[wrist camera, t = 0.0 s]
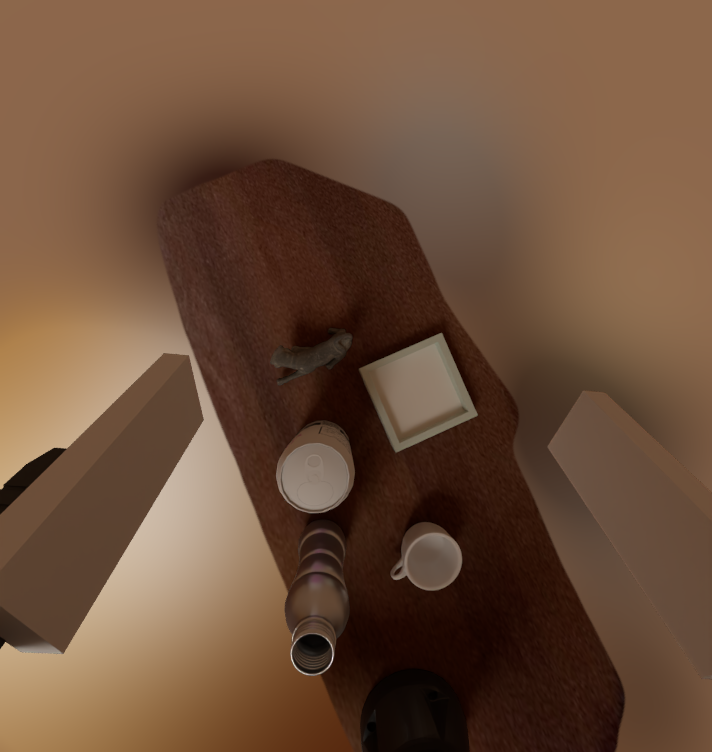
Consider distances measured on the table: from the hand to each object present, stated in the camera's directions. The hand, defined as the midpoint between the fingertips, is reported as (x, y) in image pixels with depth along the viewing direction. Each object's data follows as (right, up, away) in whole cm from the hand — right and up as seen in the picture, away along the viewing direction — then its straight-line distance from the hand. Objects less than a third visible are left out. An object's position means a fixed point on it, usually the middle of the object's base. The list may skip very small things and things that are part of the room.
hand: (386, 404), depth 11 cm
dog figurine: (-8, +4, +36) cm, 37 cm away
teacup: (+8, -24, +36) cm, 44 cm away
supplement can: (-6, -10, +36) cm, 37 cm away
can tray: (+8, -1, +36) cm, 37 cm away
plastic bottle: (-6, -23, +35) cm, 42 cm away
